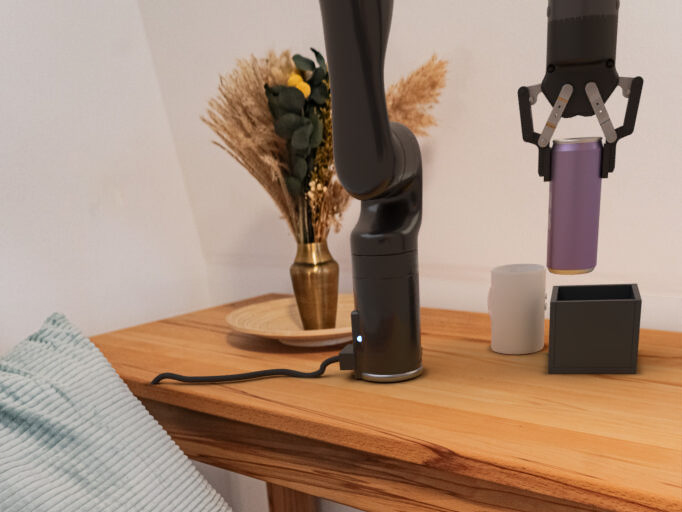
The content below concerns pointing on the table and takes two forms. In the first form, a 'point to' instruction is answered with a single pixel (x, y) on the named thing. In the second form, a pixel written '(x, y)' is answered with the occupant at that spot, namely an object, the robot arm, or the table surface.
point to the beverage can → (574, 205)
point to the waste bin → (594, 329)
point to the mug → (517, 308)
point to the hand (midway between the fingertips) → (575, 179)
